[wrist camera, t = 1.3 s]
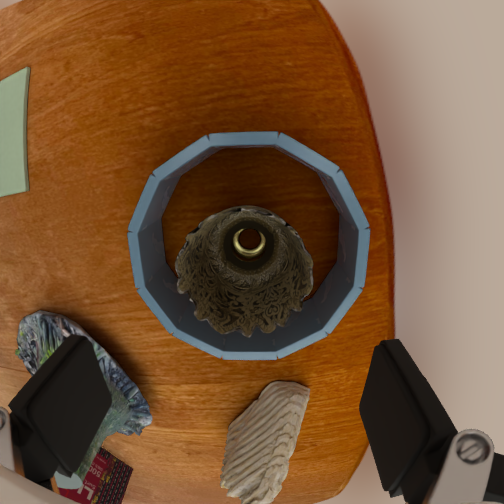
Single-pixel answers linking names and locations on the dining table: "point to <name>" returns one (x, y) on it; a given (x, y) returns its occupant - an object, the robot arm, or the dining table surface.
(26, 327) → the tree stump
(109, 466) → the box
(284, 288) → the cup
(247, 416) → the fossil tooth
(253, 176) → the dining table surface
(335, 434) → the dining table surface
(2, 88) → the mat
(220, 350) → the ring
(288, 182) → the dining table surface
